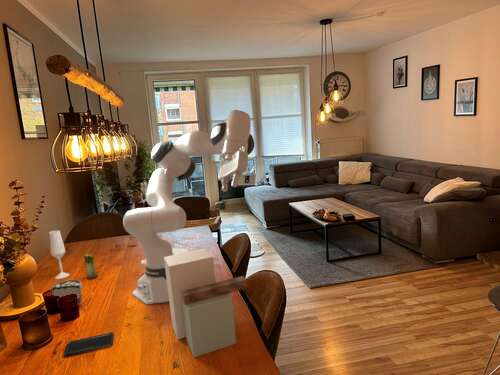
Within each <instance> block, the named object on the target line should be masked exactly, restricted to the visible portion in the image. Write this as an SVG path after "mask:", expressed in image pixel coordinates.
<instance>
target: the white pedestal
mask: <svg viewBox="0 0 500 375" xmlns="http://www.w3.org/2000/svg"><path fill="white" fill-rule="evenodd" d="M189 251H190V250H189ZM214 262H215V260H214V256H213V254H211V253H210V252H209V250H207V249H206V248H201V249H196V250H191V251H190V252H186V253H181V254H176V255H171V256H166V257H164V263H165V271H166V279H167V287H168V296H169V301H168V302H169V310H170V318H171V319H170V320H171V326H172V328H173V332H174V334H175V336H176V339H177V340H182V339H184V338H185V339H186V332H185V323H184V315H183V306H182V298H181V296H182V293H181V291H185V290H189V289H193V288H197V287H201V286H205V285H209V284H213V283H217V282H216V272H215V271H216V270H215V263H214Z"/></svg>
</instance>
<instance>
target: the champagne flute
mask: <svg viewBox="0 0 500 375" xmlns="http://www.w3.org/2000/svg"><path fill="white" fill-rule="evenodd" d="M48 233H49V245H50V246H49V248H50V251H49V252H50V255H51V256H52V257H53V258H55V259H56V260H58V267H59V271H60V272H59V273H58V274H57V275H56V276H55V277H54V278H55V279H56V280H57V279H58V280H59V279H65V278H66V277H69V276H70V273H68V272H64V270H63V265H62V260H61V259H62V258H63V256H64V255H65V253H66V249H65V245H64V240H63V238H62V234H61V231H60V230H52V231H51V230H50V231H49V232H48Z"/></svg>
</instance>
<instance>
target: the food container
mask: <svg viewBox="0 0 500 375" xmlns="http://www.w3.org/2000/svg"><path fill="white" fill-rule="evenodd" d="M82 288H83V284H82V282H81V281H80V280H79V279H66V280H63V281H60V282H57V283H55V284H53V285H52V286H51V288H50V291H51V292H52V294H53V297H54V296H59V297H62V296H66V295H70V294H76V295H77V298H78V303H79V307H78V308H80V306H81V307H82Z"/></svg>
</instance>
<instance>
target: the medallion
mask: <svg viewBox="0 0 500 375" xmlns="http://www.w3.org/2000/svg"><path fill="white" fill-rule="evenodd" d="M172 252H173V255H176V254H181V253H186V252H190V250H189V249H187V248H186V247H179V246H177V247H172ZM140 264H141V265H147V262H146V258H145V259H142V260H141V261H140Z"/></svg>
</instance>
